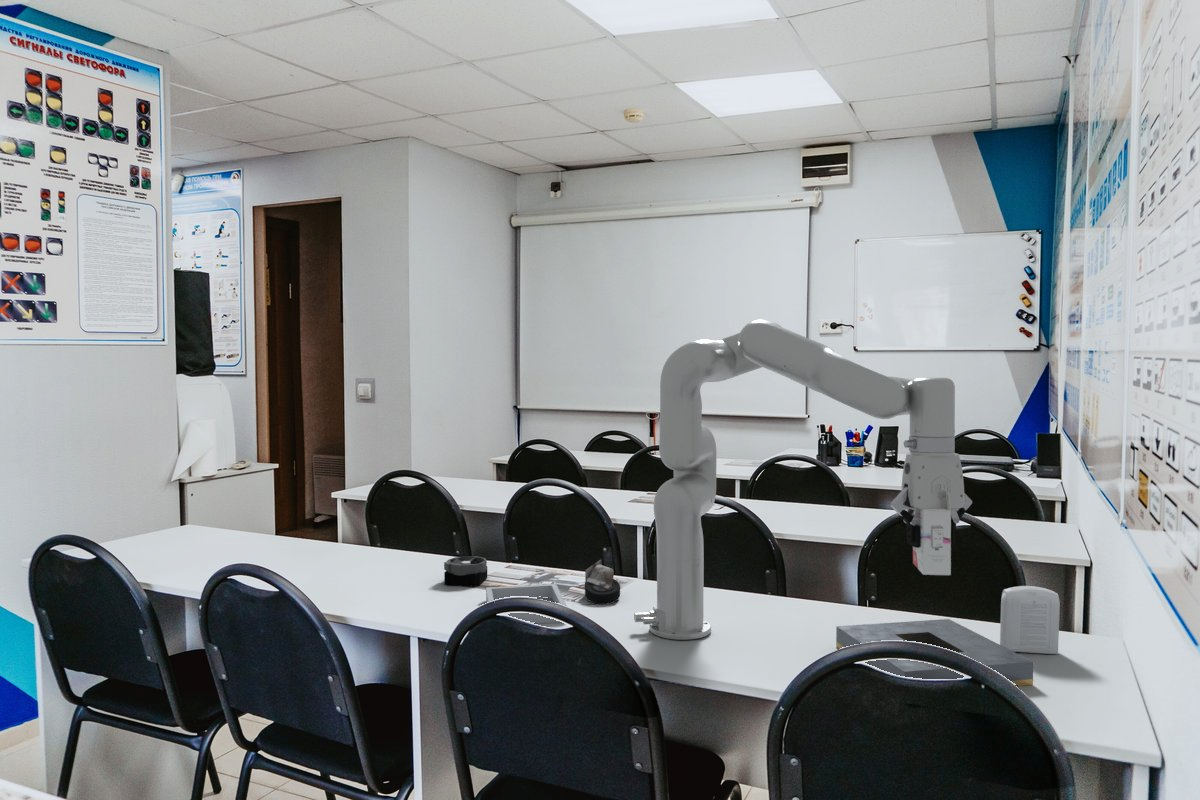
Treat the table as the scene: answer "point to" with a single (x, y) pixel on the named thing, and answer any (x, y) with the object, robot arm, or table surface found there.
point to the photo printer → (1030, 620)
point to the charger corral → (530, 591)
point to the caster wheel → (601, 584)
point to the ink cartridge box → (934, 541)
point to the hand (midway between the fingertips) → (931, 544)
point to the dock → (943, 636)
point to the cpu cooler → (465, 571)
